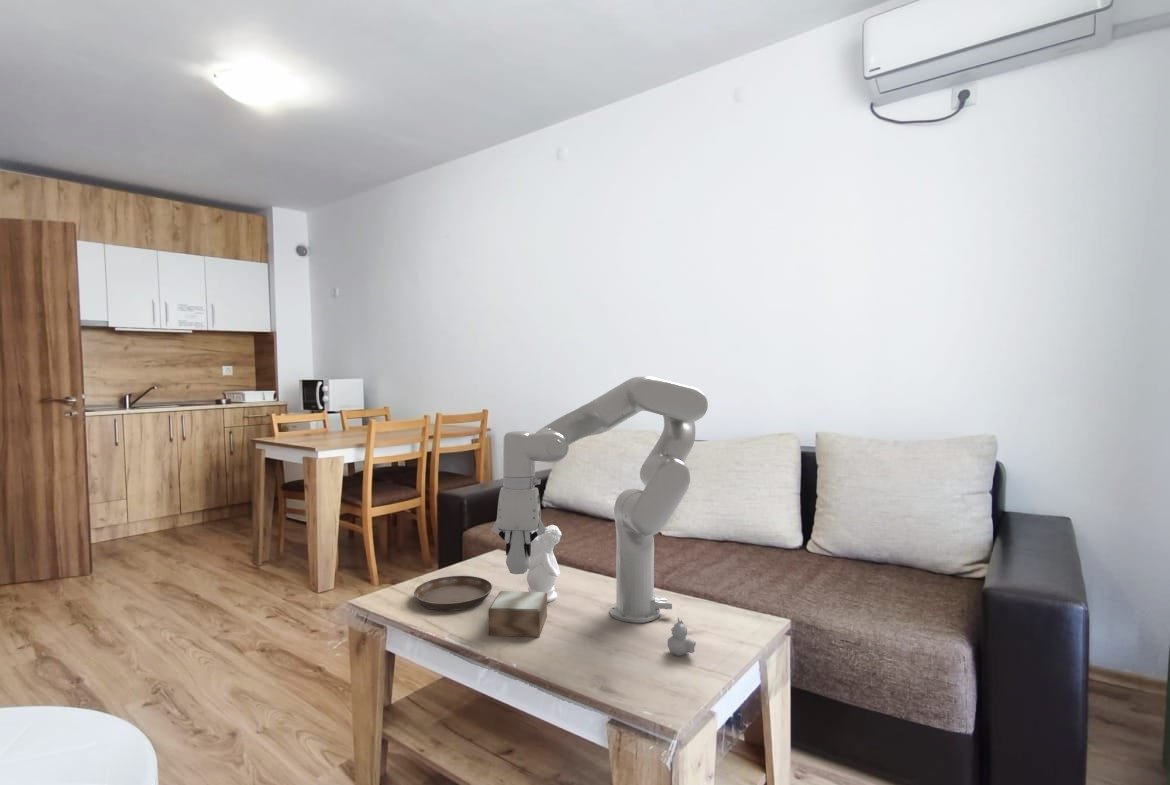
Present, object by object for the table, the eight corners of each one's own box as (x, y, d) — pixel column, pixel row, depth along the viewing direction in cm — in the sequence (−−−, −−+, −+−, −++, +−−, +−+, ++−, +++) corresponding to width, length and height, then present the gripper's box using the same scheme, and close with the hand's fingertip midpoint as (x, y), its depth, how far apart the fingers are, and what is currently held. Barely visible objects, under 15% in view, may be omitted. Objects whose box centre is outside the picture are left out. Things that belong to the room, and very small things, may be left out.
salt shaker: (501, 571, 143) (501, 517, 143) (519, 566, 147) (520, 514, 147) (516, 577, 139) (516, 521, 139) (534, 571, 143) (535, 518, 143)
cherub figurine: (566, 600, 160) (567, 519, 160) (528, 611, 153) (529, 526, 152) (540, 587, 170) (541, 511, 169) (503, 597, 162) (503, 517, 161)
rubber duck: (674, 646, 132) (674, 610, 132) (701, 654, 128) (701, 618, 128) (661, 654, 128) (662, 618, 128) (689, 663, 124) (689, 625, 124)
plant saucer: (460, 620, 147) (460, 607, 147) (397, 606, 156) (397, 594, 156) (506, 593, 166) (506, 582, 165) (447, 582, 174) (447, 571, 174)
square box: (546, 616, 149) (547, 591, 148) (539, 637, 137) (539, 610, 137) (499, 615, 150) (499, 590, 149) (488, 635, 138) (488, 608, 137)
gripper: (554, 481, 146) (554, 555, 146) (489, 479, 147) (488, 553, 147) (550, 486, 138) (549, 564, 138) (481, 484, 140) (481, 562, 140)
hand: (518, 558), depth 143 cm, fingers closed on salt shaker, 3 cm apart
